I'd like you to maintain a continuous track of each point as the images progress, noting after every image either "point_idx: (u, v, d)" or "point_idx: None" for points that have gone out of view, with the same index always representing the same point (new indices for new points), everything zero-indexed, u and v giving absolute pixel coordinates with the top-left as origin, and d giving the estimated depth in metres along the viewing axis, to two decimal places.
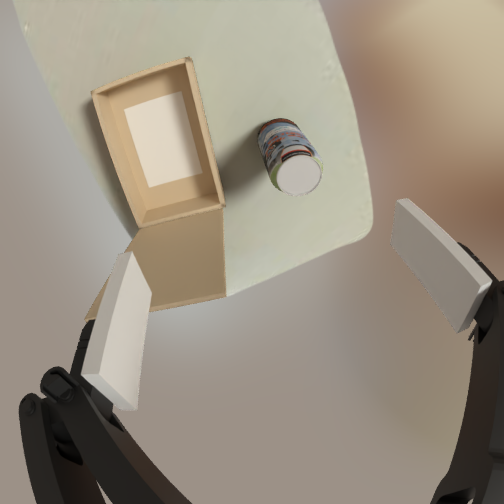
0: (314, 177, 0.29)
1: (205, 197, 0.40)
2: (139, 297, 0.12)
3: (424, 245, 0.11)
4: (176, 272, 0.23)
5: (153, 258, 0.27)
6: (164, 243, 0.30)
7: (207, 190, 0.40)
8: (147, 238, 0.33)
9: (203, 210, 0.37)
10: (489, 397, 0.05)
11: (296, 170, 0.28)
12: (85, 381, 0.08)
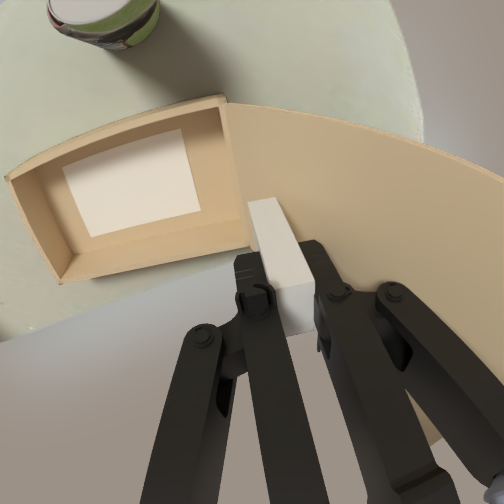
0: None
1: None
2: None
3: None
4: (419, 282, 0.08)
5: None
6: (299, 238, 0.15)
7: (213, 120, 0.22)
8: None
9: (228, 136, 0.19)
10: (363, 425, 0.06)
11: None
12: None
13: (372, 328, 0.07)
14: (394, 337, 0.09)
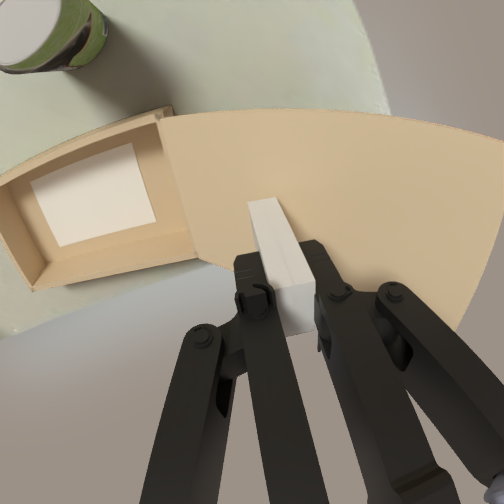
0: None
1: None
2: None
3: None
4: (405, 213, 0.11)
5: (324, 246, 0.15)
6: None
7: None
8: (237, 249, 0.20)
9: None
10: (364, 425, 0.06)
11: (8, 33, 0.06)
12: None
13: (372, 328, 0.07)
14: (394, 337, 0.09)
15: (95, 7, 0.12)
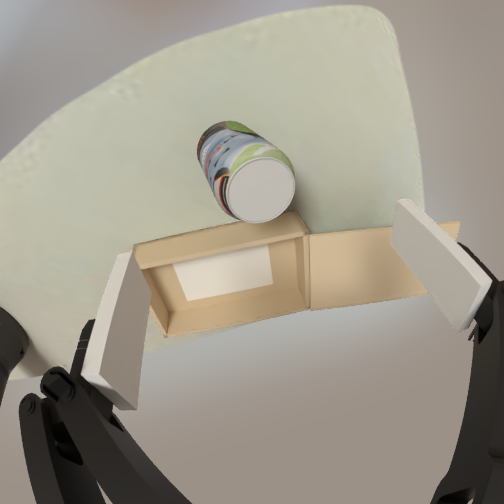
0: (265, 167, 0.18)
1: None
2: (139, 297, 0.12)
3: (424, 244, 0.11)
4: None
5: (394, 275, 0.33)
6: (371, 275, 0.33)
7: None
8: (346, 294, 0.35)
9: (306, 252, 0.32)
10: (489, 397, 0.05)
11: (251, 198, 0.19)
12: (85, 381, 0.08)
13: None
14: None
15: None
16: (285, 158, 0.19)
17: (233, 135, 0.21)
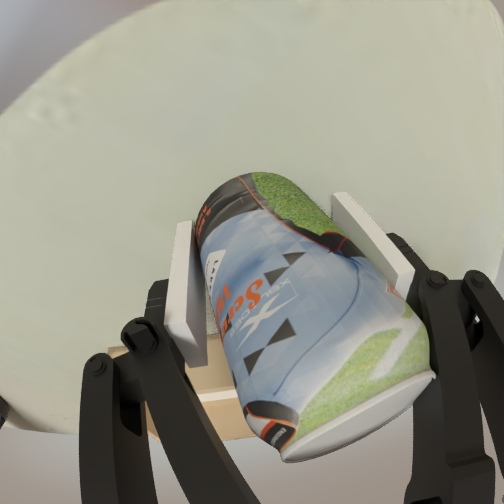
0: (392, 396, 0.06)
1: None
2: (199, 262, 0.14)
3: (354, 235, 0.12)
4: None
5: None
6: None
7: None
8: None
9: None
10: (435, 401, 0.06)
11: (337, 439, 0.07)
12: (162, 335, 0.09)
13: (459, 317, 0.07)
14: (469, 322, 0.08)
15: None
16: (427, 343, 0.06)
17: (291, 252, 0.08)
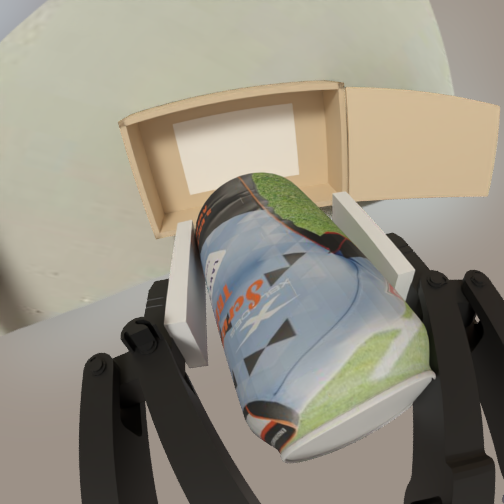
0: (392, 397, 0.06)
1: (326, 105, 0.25)
2: (199, 262, 0.14)
3: (354, 235, 0.12)
4: (472, 135, 0.22)
5: (443, 159, 0.24)
6: (418, 153, 0.24)
7: (318, 100, 0.26)
8: (391, 179, 0.26)
9: (343, 113, 0.23)
10: (434, 402, 0.06)
11: (337, 439, 0.07)
12: (162, 335, 0.09)
13: (459, 317, 0.07)
14: (469, 322, 0.08)
15: None
16: (427, 343, 0.06)
17: (291, 252, 0.08)
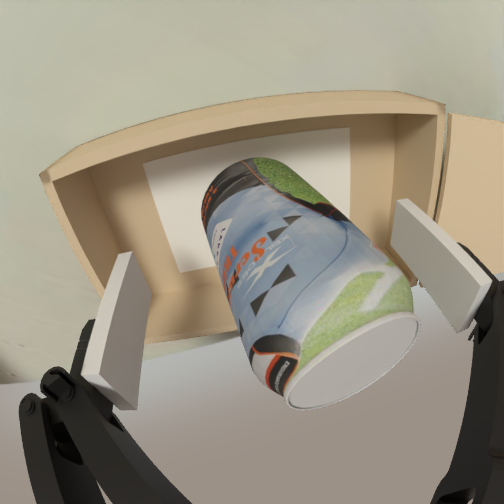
0: (381, 334, 0.07)
1: (402, 134, 0.15)
2: (139, 297, 0.12)
3: (424, 245, 0.11)
4: None
5: None
6: None
7: (387, 125, 0.15)
8: (479, 254, 0.15)
9: (438, 156, 0.12)
10: (489, 397, 0.05)
11: (334, 383, 0.08)
12: (85, 381, 0.08)
13: None
14: None
15: None
16: (410, 292, 0.08)
17: (289, 215, 0.10)
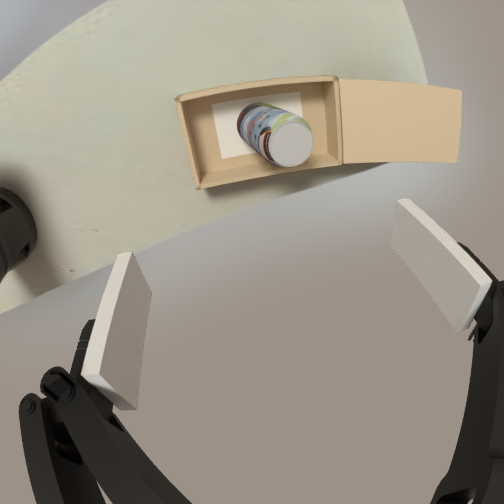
0: (295, 128, 0.26)
1: (325, 93, 0.34)
2: (139, 297, 0.12)
3: (424, 245, 0.11)
4: (438, 113, 0.30)
5: (415, 131, 0.32)
6: (395, 127, 0.32)
7: (318, 90, 0.34)
8: (375, 146, 0.34)
9: (337, 98, 0.31)
10: (489, 397, 0.05)
11: (284, 148, 0.27)
12: (85, 381, 0.08)
13: None
14: None
15: None
16: (307, 124, 0.27)
17: (270, 109, 0.29)
